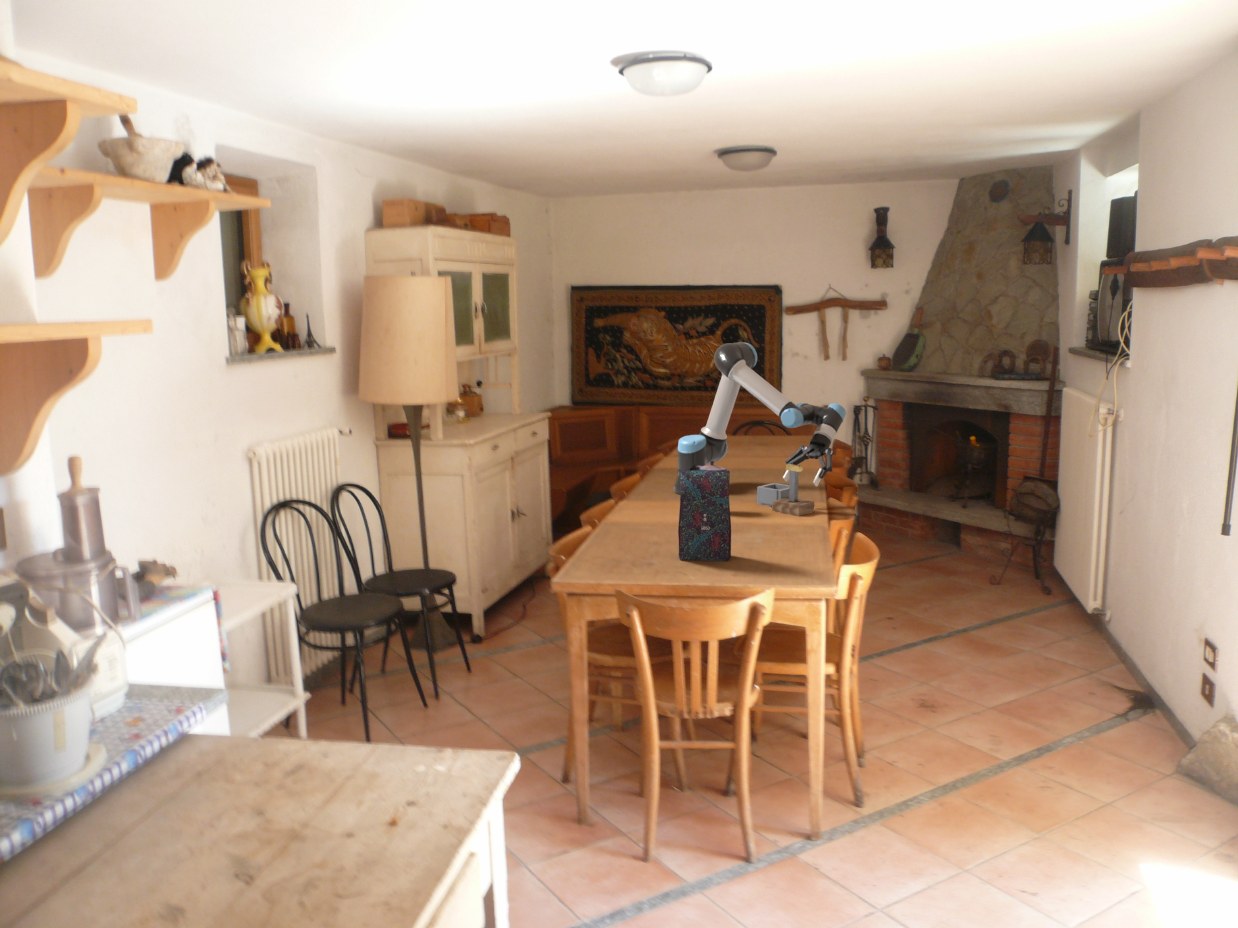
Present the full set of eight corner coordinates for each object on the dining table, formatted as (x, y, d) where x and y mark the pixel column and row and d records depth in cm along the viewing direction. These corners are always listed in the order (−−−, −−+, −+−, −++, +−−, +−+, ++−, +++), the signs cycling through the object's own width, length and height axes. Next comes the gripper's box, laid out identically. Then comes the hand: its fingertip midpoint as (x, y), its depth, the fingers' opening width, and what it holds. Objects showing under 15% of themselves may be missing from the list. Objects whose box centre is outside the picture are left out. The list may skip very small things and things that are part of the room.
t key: (784, 510, 367) (785, 464, 364) (788, 509, 369) (789, 463, 366) (797, 513, 363) (798, 466, 360) (801, 512, 365) (802, 465, 362)
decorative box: (679, 553, 308) (679, 467, 303) (730, 554, 306) (731, 468, 301) (678, 560, 300) (678, 472, 295) (730, 561, 298) (731, 473, 293)
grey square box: (756, 504, 379) (756, 487, 378) (773, 499, 387) (773, 482, 386) (779, 508, 371) (780, 490, 370) (797, 504, 379) (797, 486, 378)
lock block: (772, 511, 367) (772, 501, 366) (787, 507, 374) (788, 497, 373) (798, 516, 358) (798, 505, 358) (813, 511, 365) (814, 501, 365)
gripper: (854, 447, 366) (831, 492, 359) (799, 441, 384) (776, 483, 376) (847, 435, 362) (824, 480, 354) (792, 429, 379) (768, 472, 371)
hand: (799, 482), depth 365 cm, fingers open, 13 cm apart
